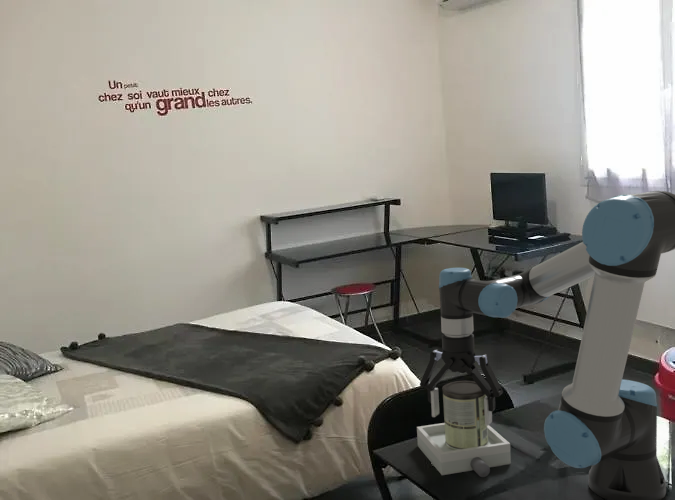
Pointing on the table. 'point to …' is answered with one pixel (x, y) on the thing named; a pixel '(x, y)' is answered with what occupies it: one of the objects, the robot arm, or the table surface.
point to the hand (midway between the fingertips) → (461, 419)
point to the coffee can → (464, 415)
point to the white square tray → (462, 451)
